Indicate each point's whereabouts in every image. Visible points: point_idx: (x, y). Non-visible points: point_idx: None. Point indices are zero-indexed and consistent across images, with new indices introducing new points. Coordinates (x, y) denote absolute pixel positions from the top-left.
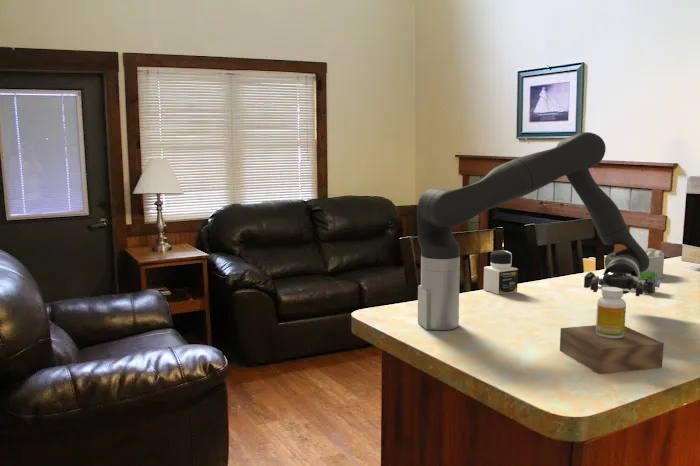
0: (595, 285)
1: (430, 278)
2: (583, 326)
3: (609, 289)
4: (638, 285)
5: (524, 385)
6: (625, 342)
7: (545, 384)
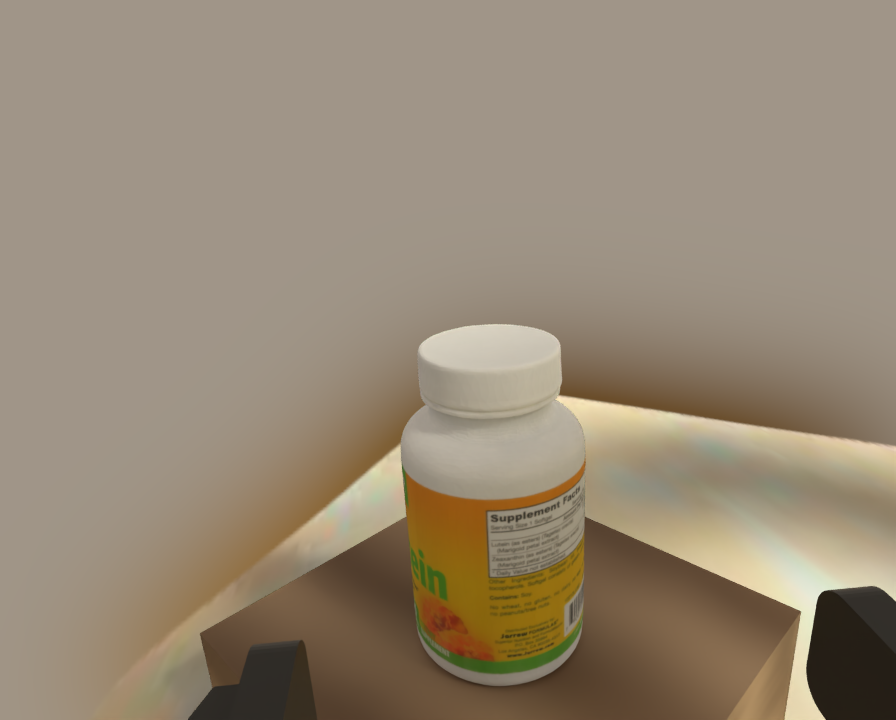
0: (829, 604)
1: None
2: (723, 711)
3: (501, 334)
4: (257, 697)
5: (636, 437)
6: (401, 564)
7: (596, 456)
